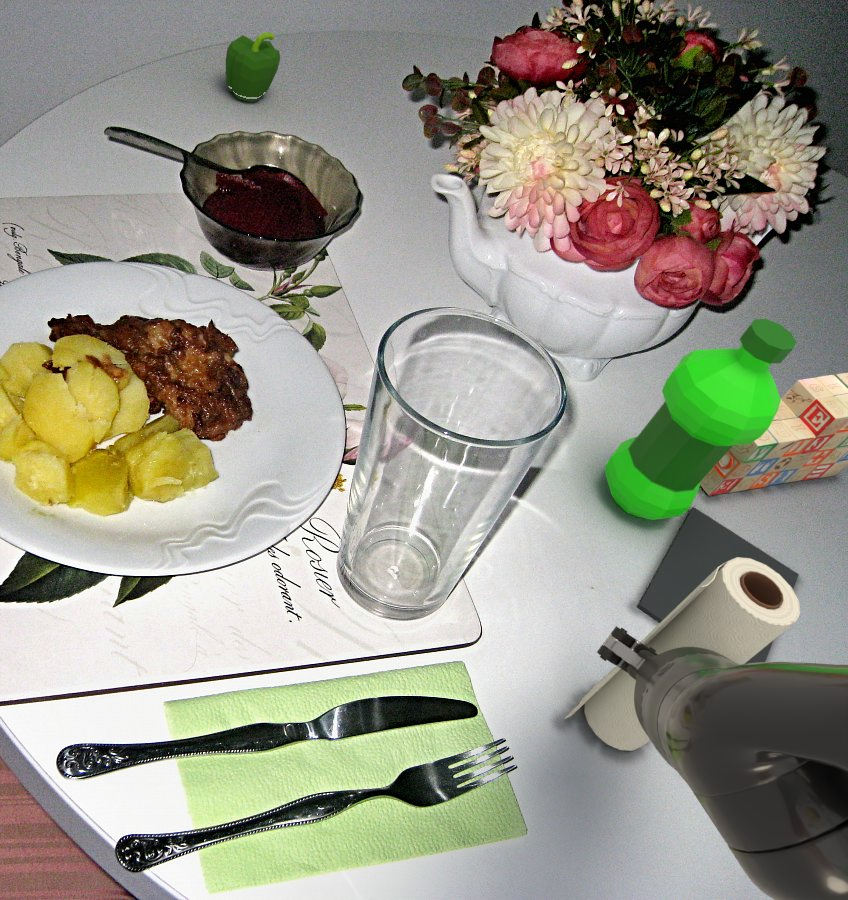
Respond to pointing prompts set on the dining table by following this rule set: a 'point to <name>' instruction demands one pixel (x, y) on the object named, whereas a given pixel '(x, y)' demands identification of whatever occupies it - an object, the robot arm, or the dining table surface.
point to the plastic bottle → (699, 422)
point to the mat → (701, 566)
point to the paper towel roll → (699, 639)
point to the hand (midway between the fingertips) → (663, 675)
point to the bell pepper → (251, 66)
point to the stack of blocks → (791, 441)
